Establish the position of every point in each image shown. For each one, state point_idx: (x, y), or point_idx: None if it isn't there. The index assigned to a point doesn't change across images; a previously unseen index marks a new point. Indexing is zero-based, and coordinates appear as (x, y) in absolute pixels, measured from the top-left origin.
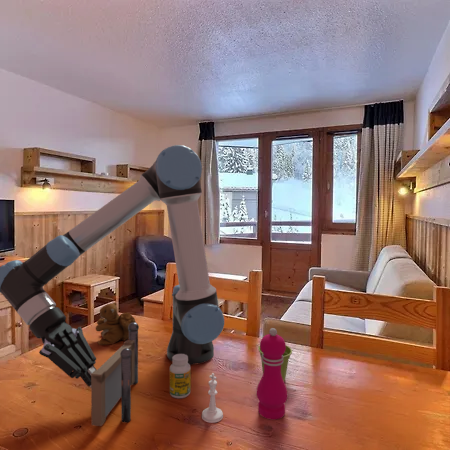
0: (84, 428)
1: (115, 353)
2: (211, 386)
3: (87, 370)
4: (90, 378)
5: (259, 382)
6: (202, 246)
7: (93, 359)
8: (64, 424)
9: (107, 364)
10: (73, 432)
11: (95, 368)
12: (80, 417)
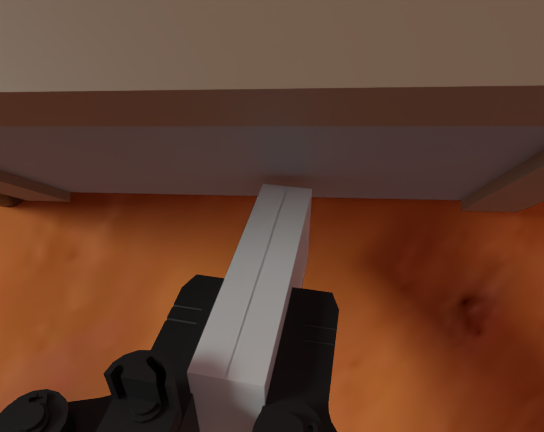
0: (482, 269)
1: (10, 74)
2: None
3: (264, 400)
4: (315, 330)
5: None
6: None
7: (61, 418)
8: (465, 408)
9: (398, 16)
10: (527, 316)
11: (154, 348)
12: (386, 343)
